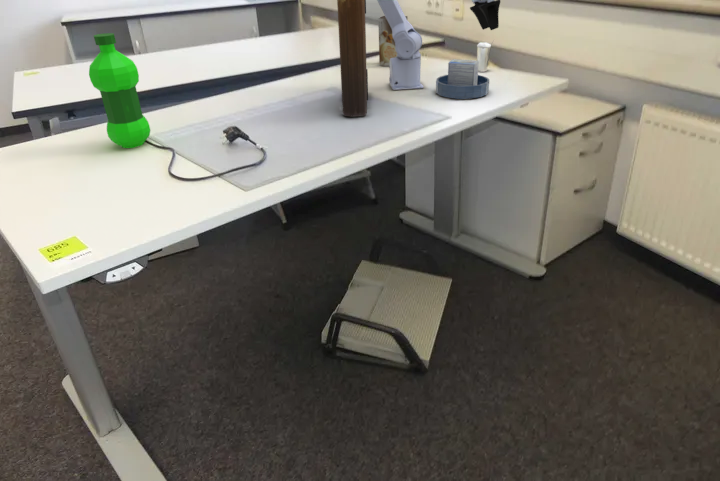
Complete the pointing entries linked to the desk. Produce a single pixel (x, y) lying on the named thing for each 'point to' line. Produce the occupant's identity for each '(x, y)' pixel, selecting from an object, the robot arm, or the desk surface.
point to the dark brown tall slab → (353, 56)
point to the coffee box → (386, 42)
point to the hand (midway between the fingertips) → (490, 28)
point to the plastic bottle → (119, 93)
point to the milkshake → (483, 56)
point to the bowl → (462, 88)
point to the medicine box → (462, 72)
